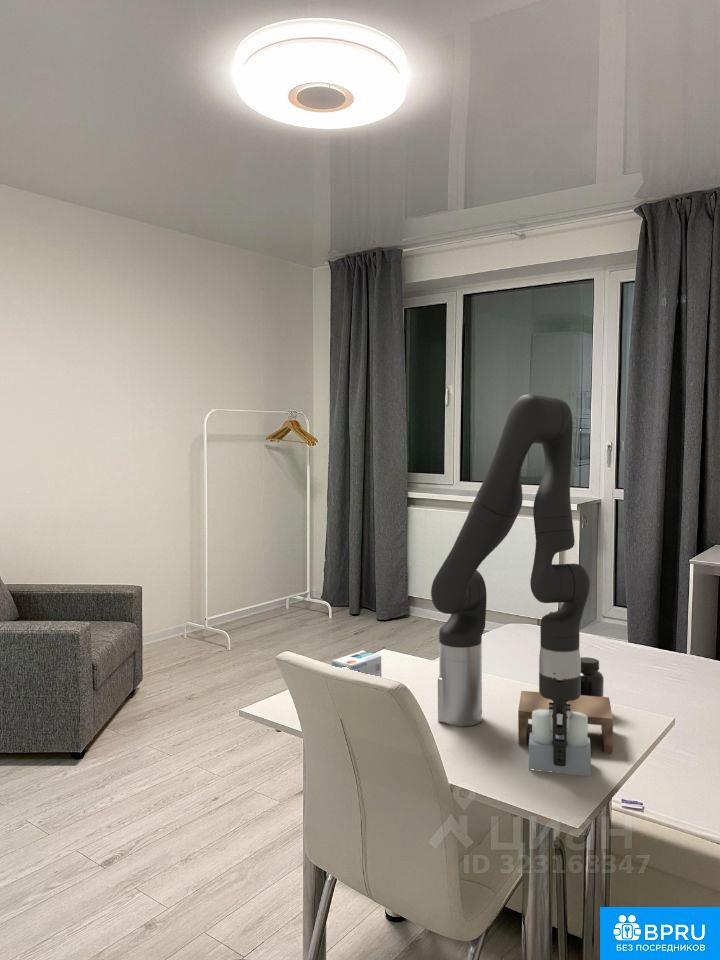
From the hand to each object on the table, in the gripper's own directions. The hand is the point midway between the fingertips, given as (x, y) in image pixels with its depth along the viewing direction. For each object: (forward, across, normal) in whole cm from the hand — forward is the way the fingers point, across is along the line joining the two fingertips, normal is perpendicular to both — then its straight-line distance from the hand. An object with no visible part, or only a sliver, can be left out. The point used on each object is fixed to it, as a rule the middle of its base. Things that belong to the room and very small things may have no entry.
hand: (559, 755), depth 138 cm
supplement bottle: (+2, -29, +6) cm, 30 cm away
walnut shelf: (+2, -14, +1) cm, 14 cm away
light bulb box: (+2, -24, -46) cm, 52 cm away
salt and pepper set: (+2, 0, 0) cm, 2 cm away
